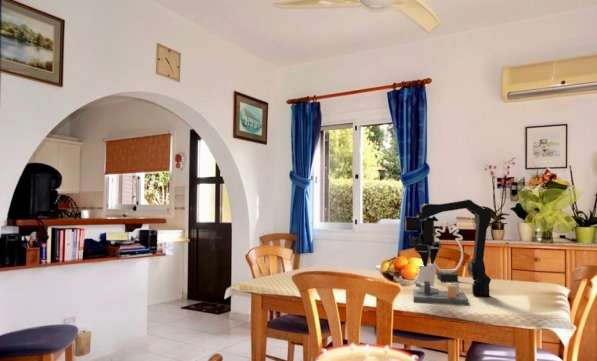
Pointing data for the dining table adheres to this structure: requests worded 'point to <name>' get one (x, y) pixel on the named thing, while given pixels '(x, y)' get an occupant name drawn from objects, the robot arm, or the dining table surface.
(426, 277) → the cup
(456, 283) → the paddle
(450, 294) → the paddle
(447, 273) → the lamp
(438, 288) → the rocker
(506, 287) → the dining table surface
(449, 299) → the panel
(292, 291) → the dining table surface
